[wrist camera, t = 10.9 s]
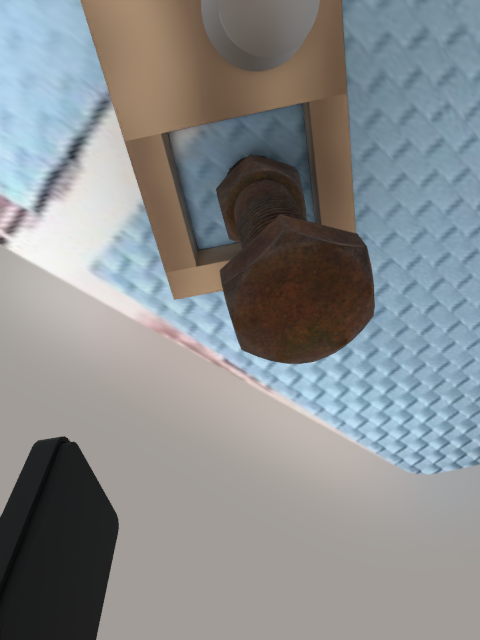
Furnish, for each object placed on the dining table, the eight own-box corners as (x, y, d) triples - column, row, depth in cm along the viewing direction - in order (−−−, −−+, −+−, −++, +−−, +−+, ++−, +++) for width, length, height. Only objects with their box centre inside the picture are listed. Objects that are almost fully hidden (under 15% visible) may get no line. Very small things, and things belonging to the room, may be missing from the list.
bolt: (298, 211, 30) (380, 352, 17) (224, 231, 30) (251, 385, 18) (282, 118, 26) (368, 210, 14) (198, 142, 27) (210, 252, 14)
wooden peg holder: (323, -97, 22) (380, -169, 14) (348, 249, 31) (389, 319, 23) (80, -38, 22) (9, -74, 15) (177, 282, 32) (163, 359, 24)
